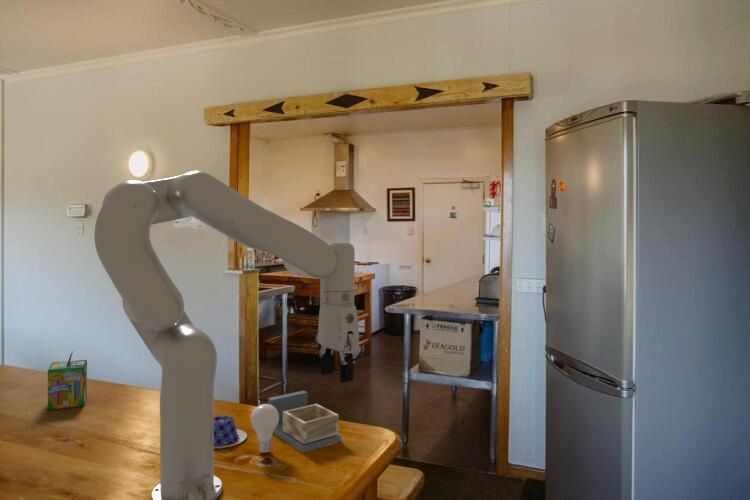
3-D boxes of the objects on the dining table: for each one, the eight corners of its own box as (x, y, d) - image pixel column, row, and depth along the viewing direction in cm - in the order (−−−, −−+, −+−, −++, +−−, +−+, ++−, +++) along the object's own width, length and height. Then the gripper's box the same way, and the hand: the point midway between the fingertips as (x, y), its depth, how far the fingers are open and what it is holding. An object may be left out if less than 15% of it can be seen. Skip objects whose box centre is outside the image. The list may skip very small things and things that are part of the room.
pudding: (195, 434, 127) (195, 413, 126) (245, 429, 130) (245, 408, 130) (193, 454, 115) (193, 431, 115) (248, 448, 119) (248, 425, 119)
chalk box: (51, 401, 149) (51, 350, 148) (87, 397, 153) (87, 348, 152) (46, 411, 141) (45, 357, 140) (84, 406, 144) (84, 354, 144)
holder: (338, 434, 122) (338, 414, 122) (303, 444, 116) (303, 423, 116) (316, 421, 130) (316, 403, 130) (282, 430, 124) (282, 411, 124)
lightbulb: (272, 460, 112) (272, 410, 111) (245, 457, 113) (245, 408, 113) (283, 448, 118) (283, 401, 118) (257, 445, 119) (257, 399, 119)
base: (341, 441, 122) (341, 408, 122) (303, 453, 115) (303, 418, 115) (303, 420, 136) (303, 390, 135) (267, 429, 129) (267, 398, 129)
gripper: (374, 301, 109) (374, 383, 109) (329, 293, 122) (329, 366, 123) (346, 303, 104) (345, 390, 105) (302, 295, 118) (302, 371, 118)
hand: (336, 377), depth 114 cm, fingers open, 6 cm apart
